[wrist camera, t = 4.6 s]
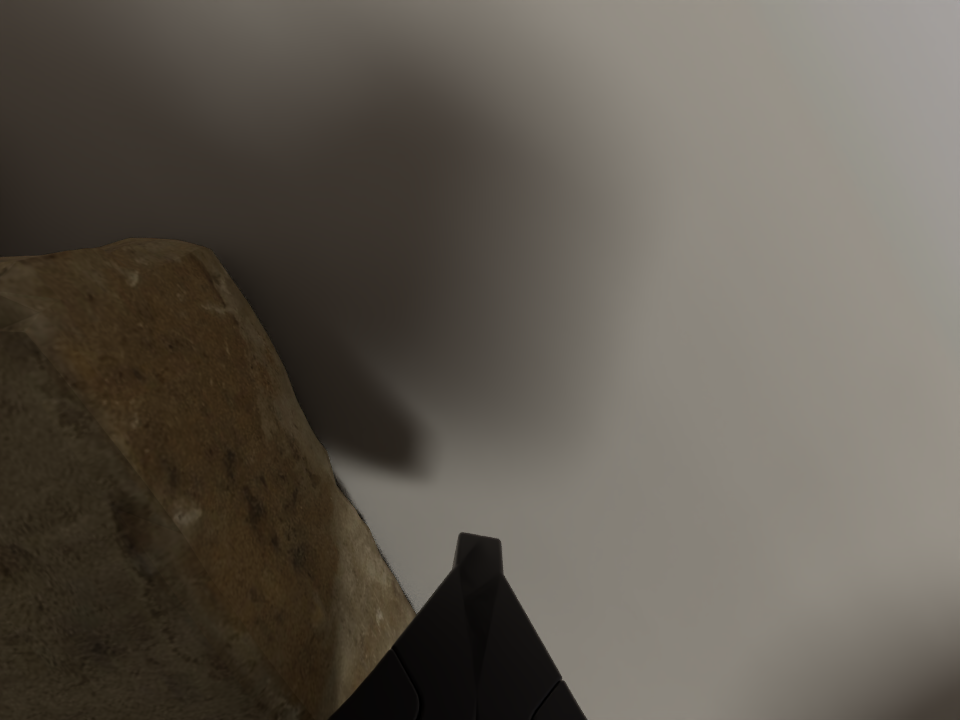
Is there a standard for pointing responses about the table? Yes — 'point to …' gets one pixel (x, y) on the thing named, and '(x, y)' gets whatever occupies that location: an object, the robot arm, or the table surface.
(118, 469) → the stone block
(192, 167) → the table surface
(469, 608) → the robot arm
